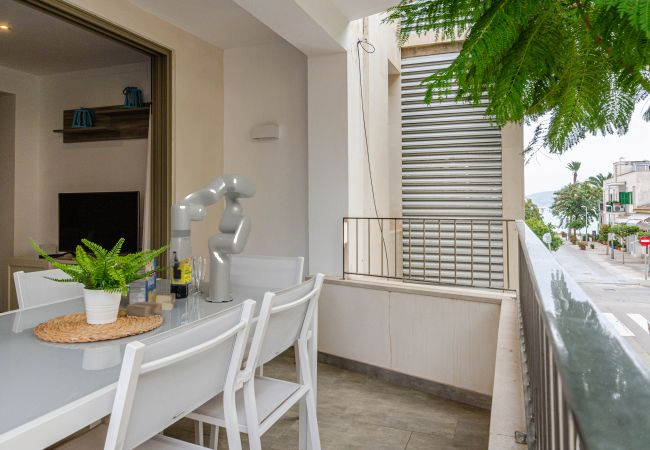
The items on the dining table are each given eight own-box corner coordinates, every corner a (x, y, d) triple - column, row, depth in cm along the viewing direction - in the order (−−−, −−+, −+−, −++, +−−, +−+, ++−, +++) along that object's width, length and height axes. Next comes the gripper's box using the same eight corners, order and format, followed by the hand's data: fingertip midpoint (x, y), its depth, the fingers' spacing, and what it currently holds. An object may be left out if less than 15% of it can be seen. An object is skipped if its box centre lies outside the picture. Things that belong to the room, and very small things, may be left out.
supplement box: (184, 286, 179) (184, 259, 178) (171, 285, 180) (170, 259, 179) (192, 283, 185) (191, 257, 184) (179, 283, 186) (178, 257, 185)
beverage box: (129, 309, 184) (129, 256, 184) (140, 304, 195) (141, 254, 195) (145, 309, 184) (145, 257, 184) (155, 304, 195) (156, 255, 195)
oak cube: (160, 307, 190) (161, 293, 190) (174, 307, 190) (175, 293, 190) (156, 309, 184) (156, 295, 184) (170, 310, 184) (170, 295, 184)
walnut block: (143, 313, 177) (143, 301, 177) (161, 315, 174) (161, 303, 174) (126, 318, 169) (126, 305, 169) (144, 320, 165) (145, 307, 165)
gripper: (184, 232, 190) (184, 273, 191) (160, 235, 173) (161, 280, 174) (199, 232, 189) (200, 274, 190) (177, 236, 172) (178, 281, 173)
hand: (181, 277), depth 182 cm, fingers closed on supplement box, 6 cm apart
